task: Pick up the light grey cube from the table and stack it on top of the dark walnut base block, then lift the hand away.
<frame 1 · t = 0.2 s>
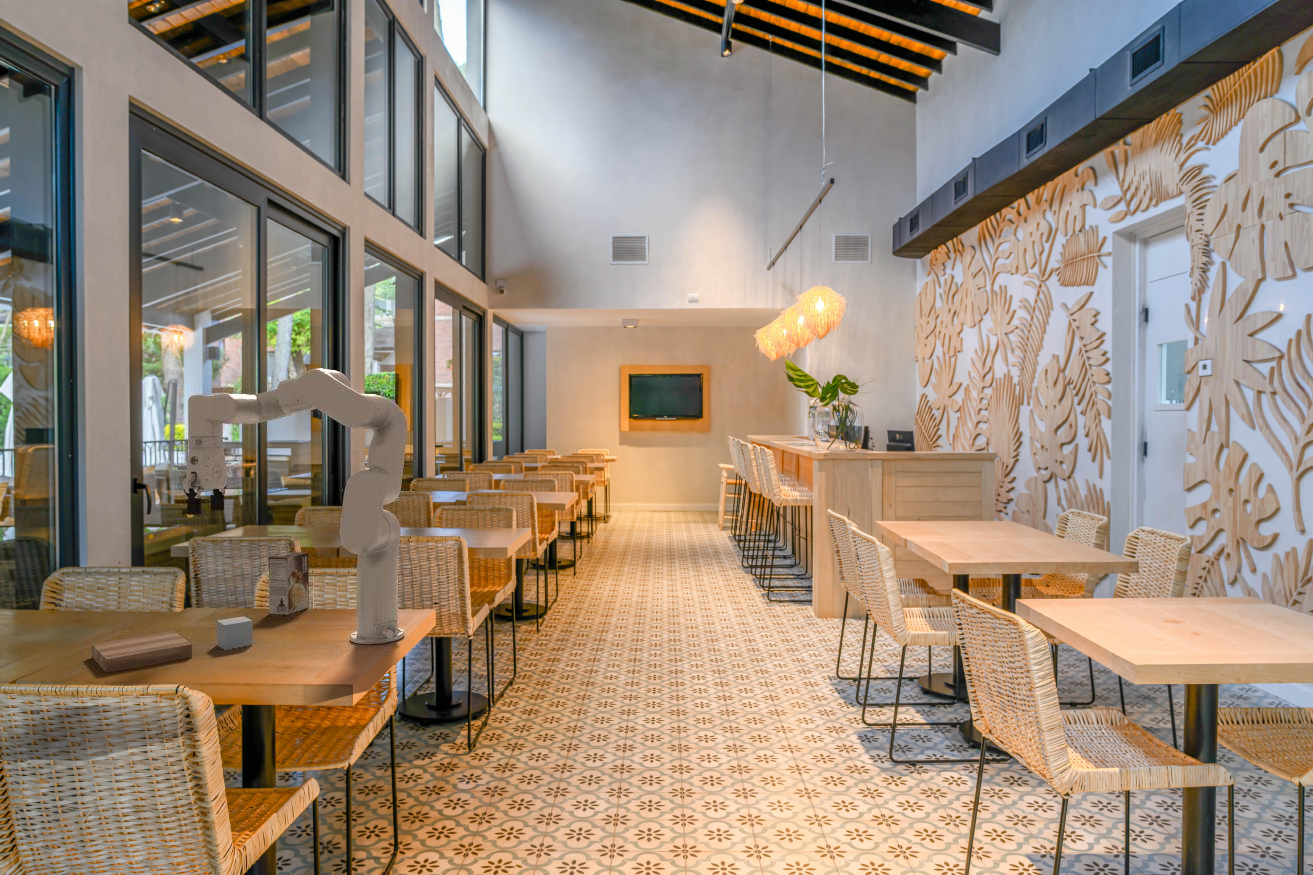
hand: (206, 512, 194), 31 cm above the table, tool pointing down, fingers open, 9 cm apart
light grey cube: (234, 645, 184), on the table
coffee box: (289, 611, 219), on the table
walnut base: (142, 657, 175), on the table
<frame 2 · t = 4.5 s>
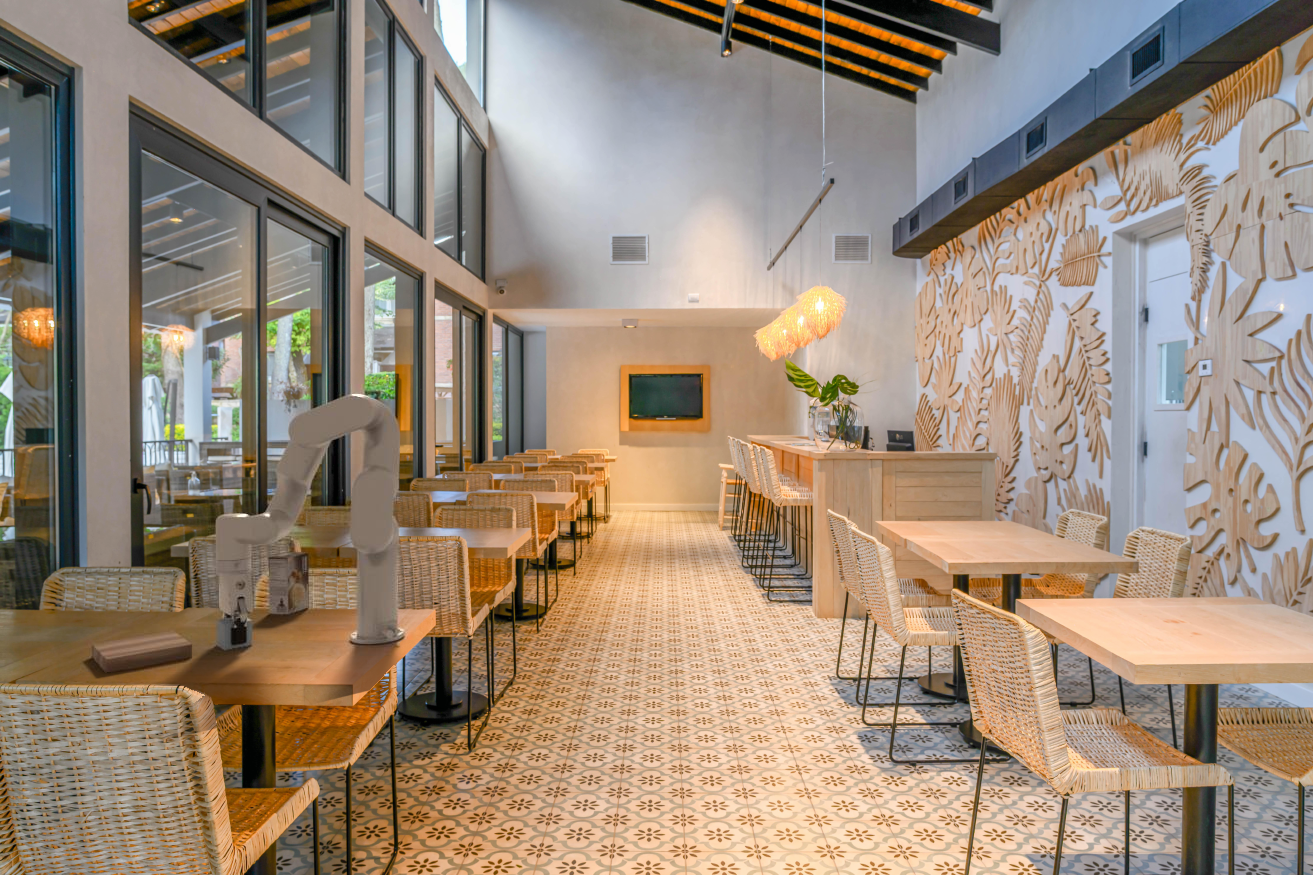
hand: (234, 640, 184), 1 cm above the table, tool pointing down, fingers closed on light grey cube, 6 cm apart
light grey cube: (234, 645, 184), on the table, touching gripper
everything else where it was.
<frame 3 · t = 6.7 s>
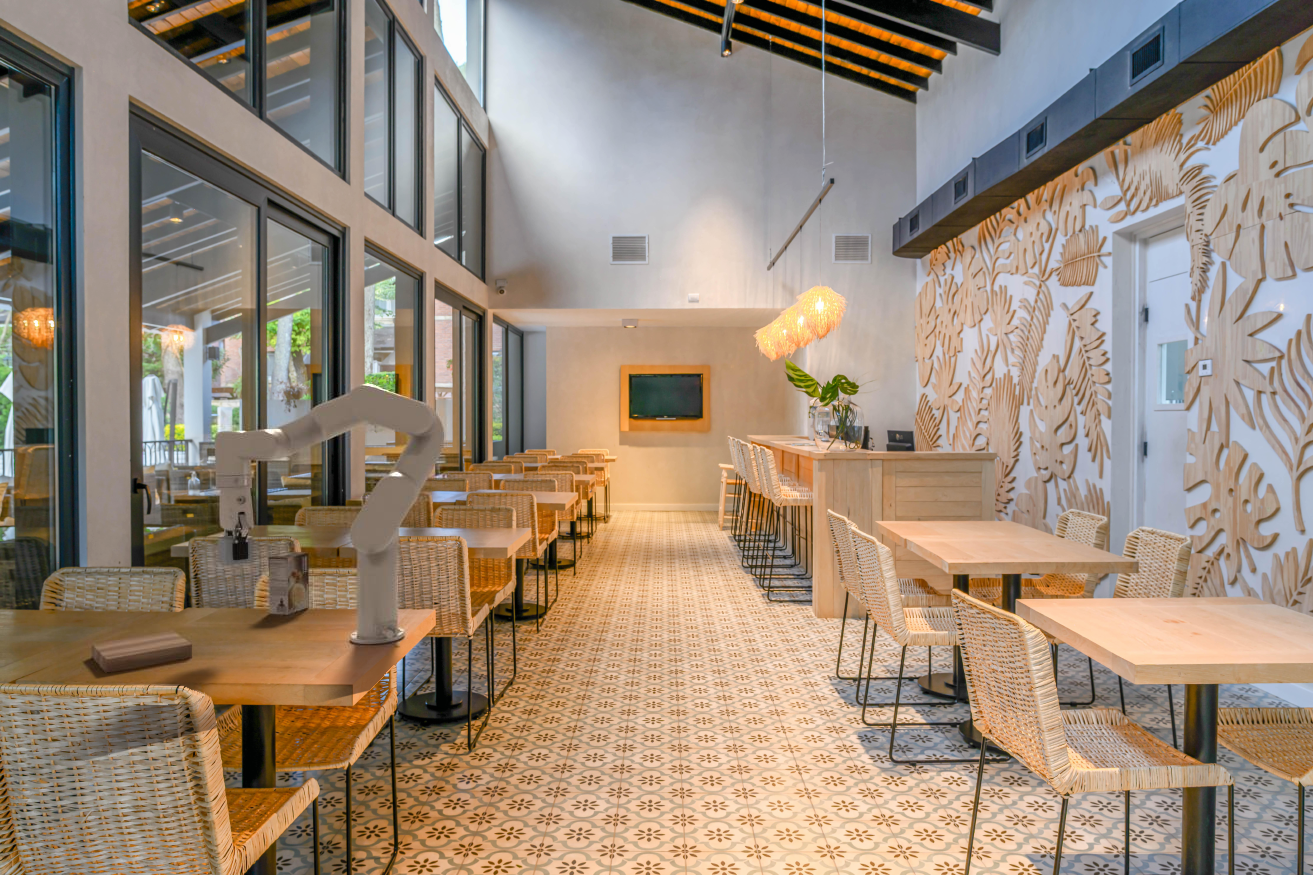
hand: (236, 557, 184), 21 cm above the table, tool pointing down, fingers closed on light grey cube, 6 cm apart
light grey cube: (236, 562, 184), point 20 cm above the table, touching gripper
everything else where it was.
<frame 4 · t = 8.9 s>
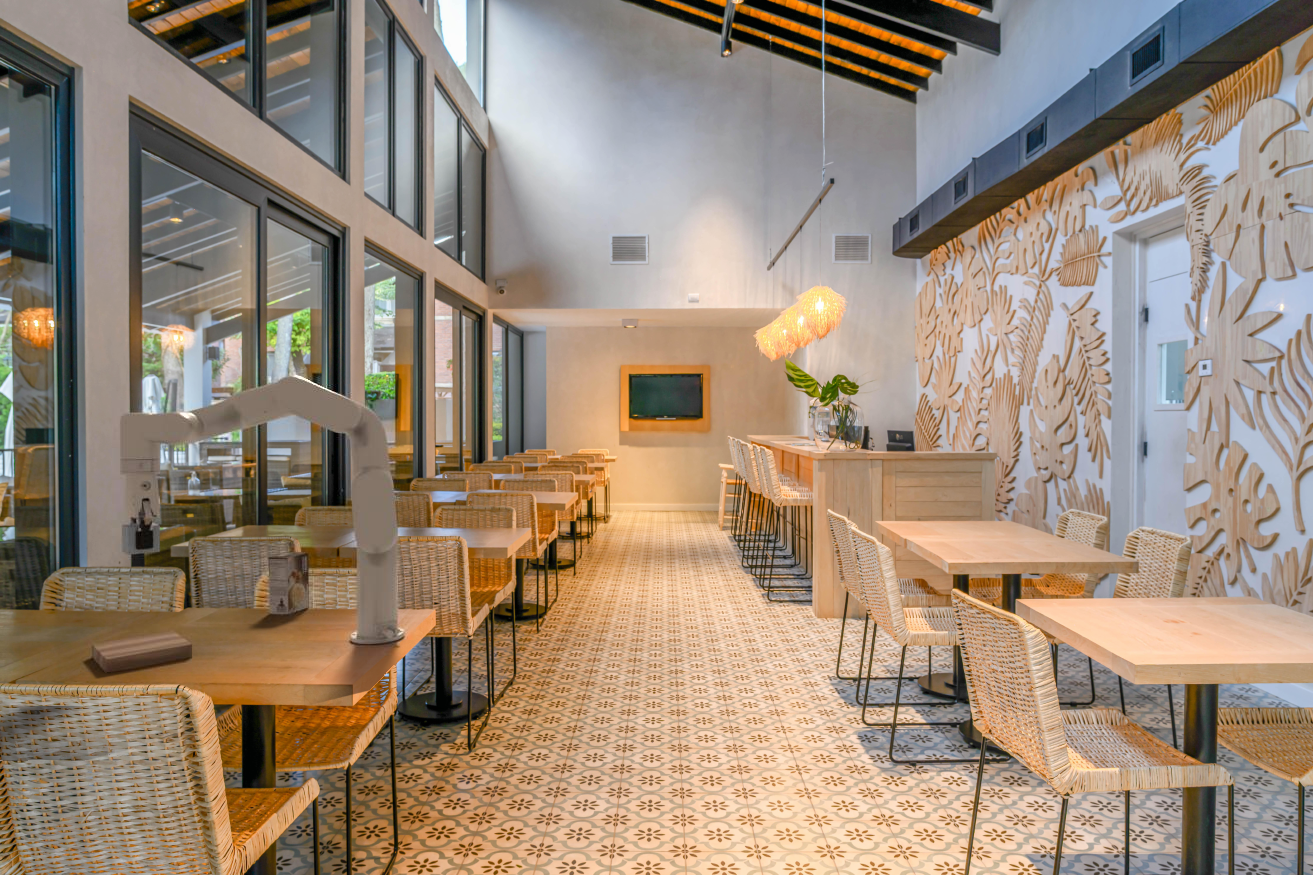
hand: (141, 546, 174), 25 cm above the table, tool pointing down, fingers closed on light grey cube, 6 cm apart
light grey cube: (140, 551, 174), point 24 cm above the table, touching gripper
everything else where it was.
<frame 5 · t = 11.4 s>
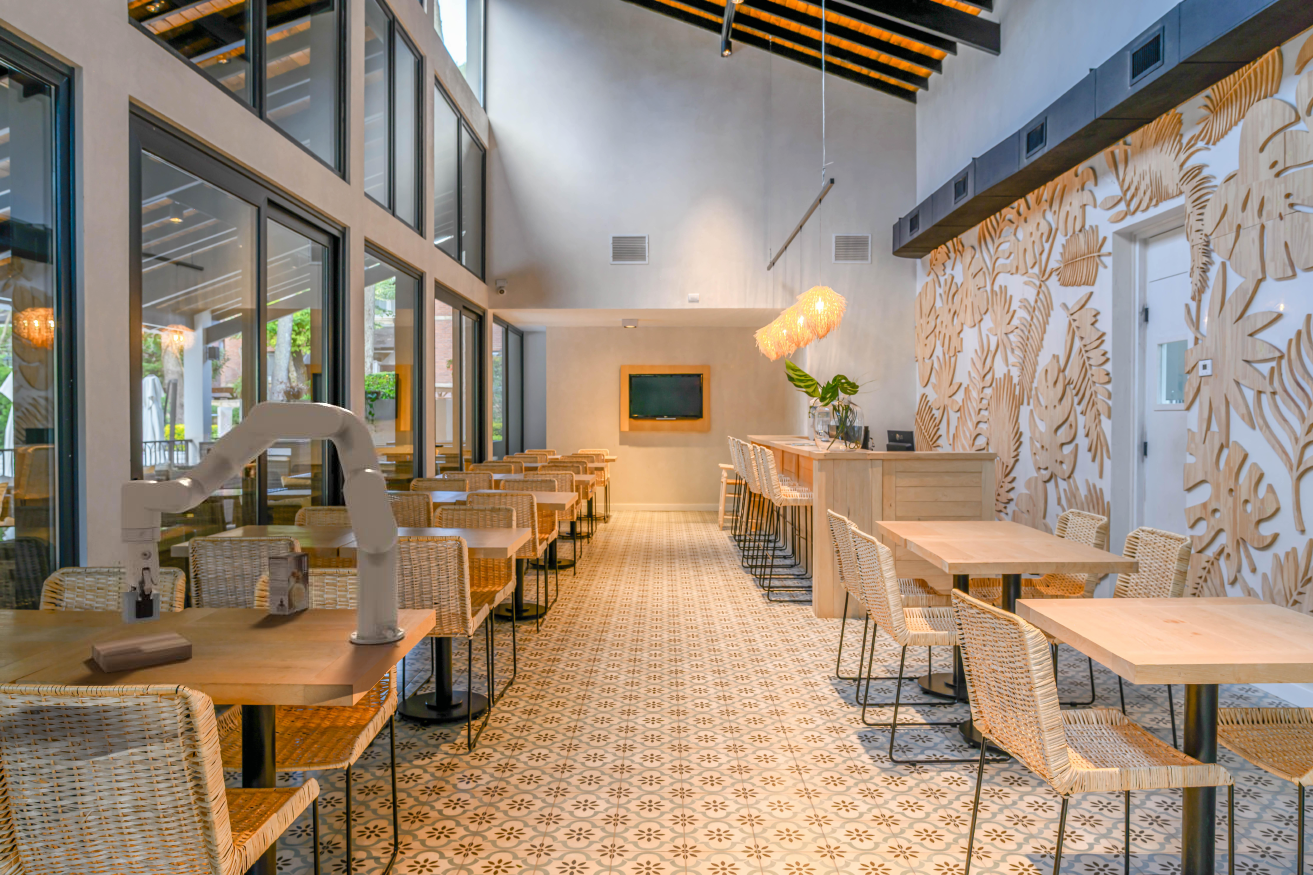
hand: (140, 614, 174), 10 cm above the table, tool pointing down, fingers closed on light grey cube, 6 cm apart
light grey cube: (140, 619, 174), point 9 cm above the table, touching gripper
everything else where it was.
when the fingers open (5 cm above the table, at t = 13.3 s): light grey cube drops 1 cm, resting on walnut base.
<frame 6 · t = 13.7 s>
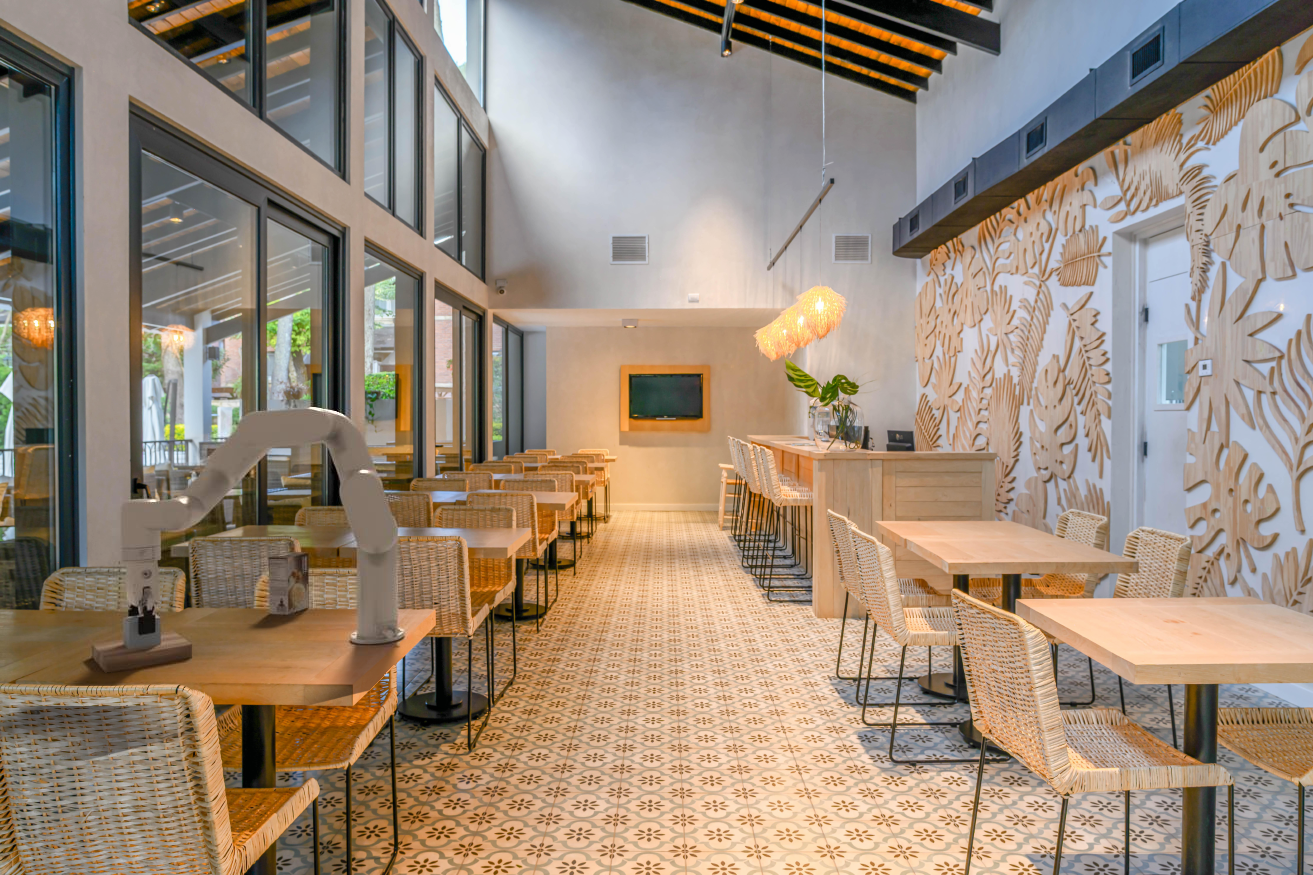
hand: (141, 629, 174), 6 cm above the table, tool pointing down, fingers open, 9 cm apart
light grey cube: (142, 643, 175), point 3 cm above the table, touching walnut base
everything else where it was.
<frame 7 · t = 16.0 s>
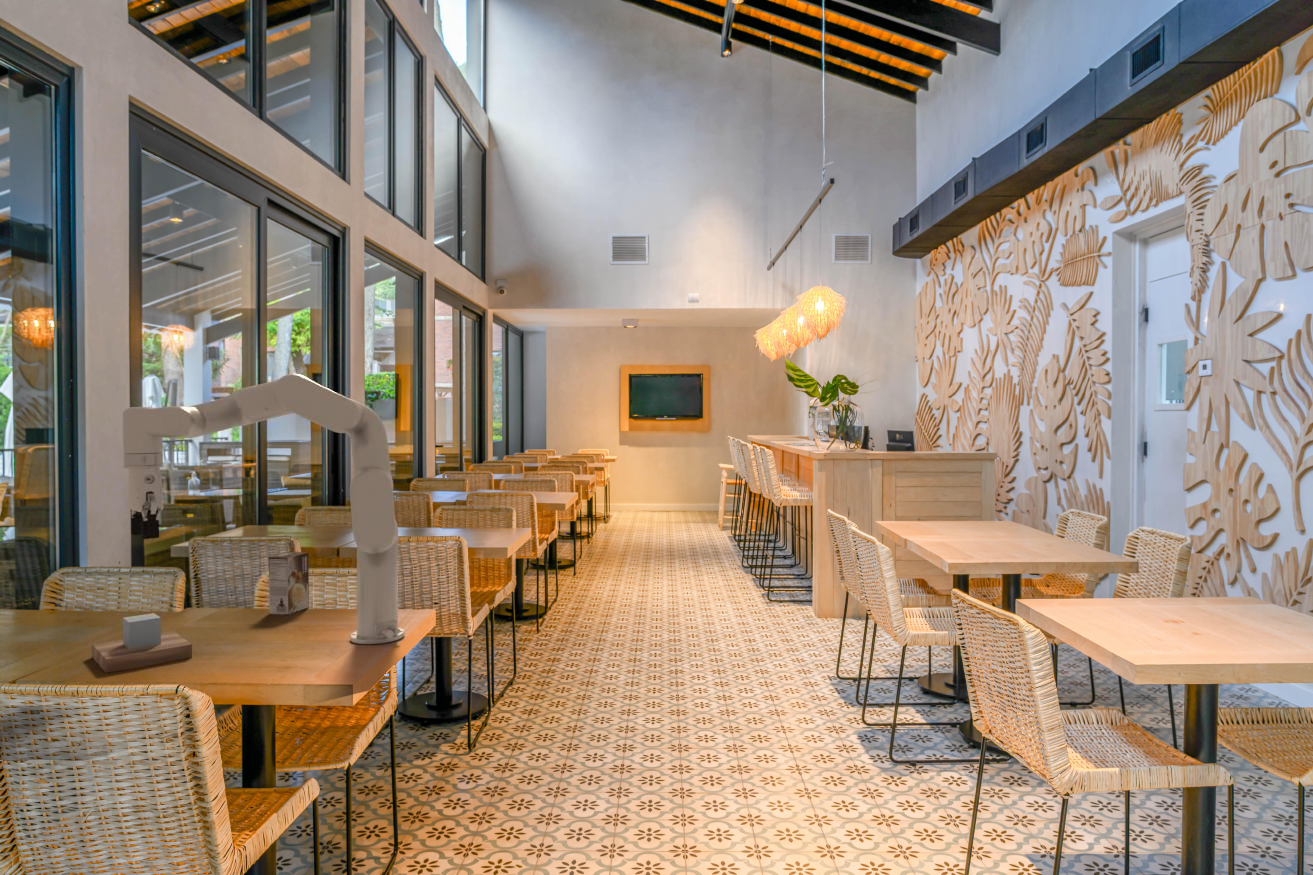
hand: (145, 536, 176), 27 cm above the table, tool pointing down, fingers open, 9 cm apart
nothing on the table moved.
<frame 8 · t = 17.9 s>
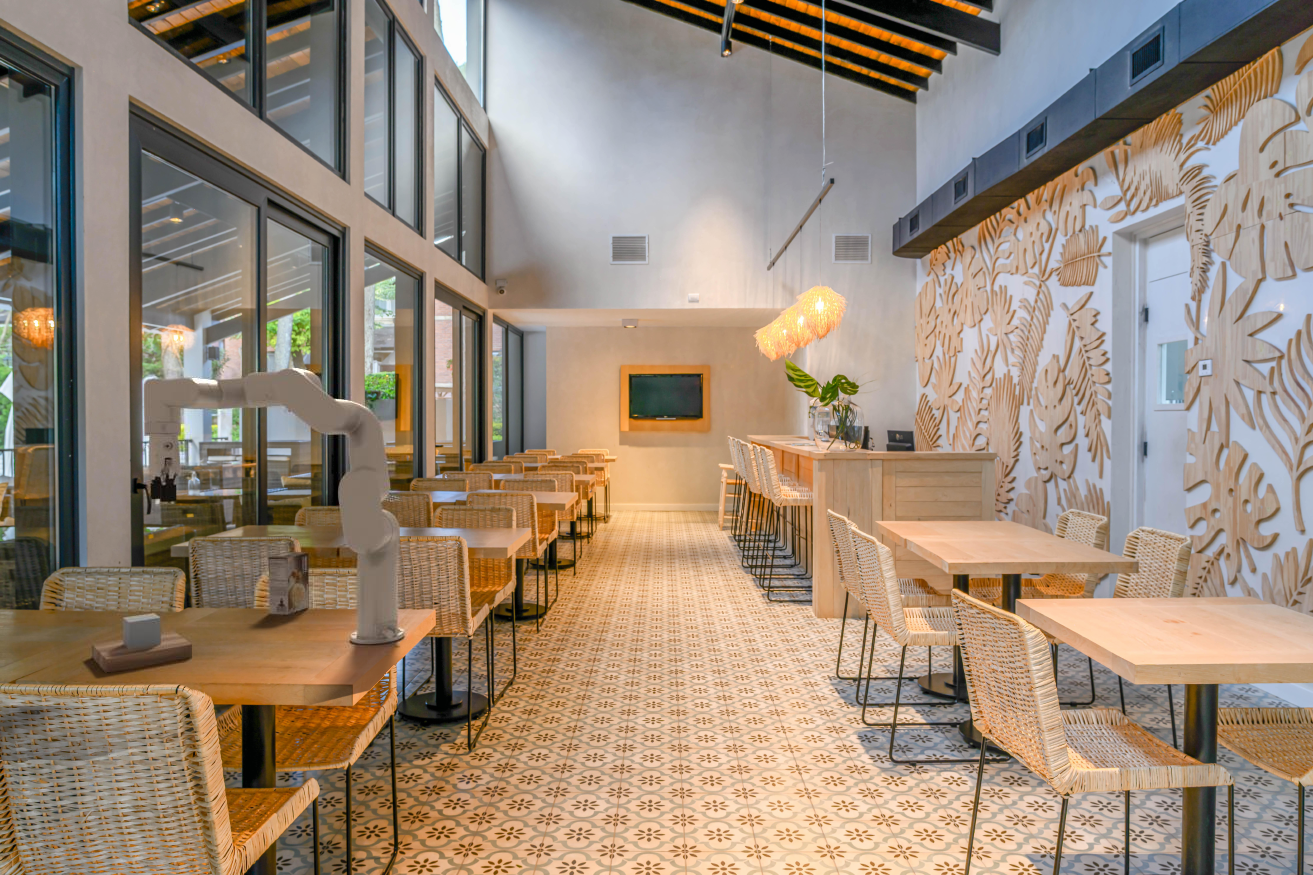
hand: (163, 500, 188), 34 cm above the table, tool pointing down, fingers open, 9 cm apart
nothing on the table moved.
at the end: light grey cube inside the target area on the walnut base (0.0 cm from its centre), point 3.0 cm above the walnut base's base; light grey cube tilted 0°; the gripper is holding nothing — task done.
